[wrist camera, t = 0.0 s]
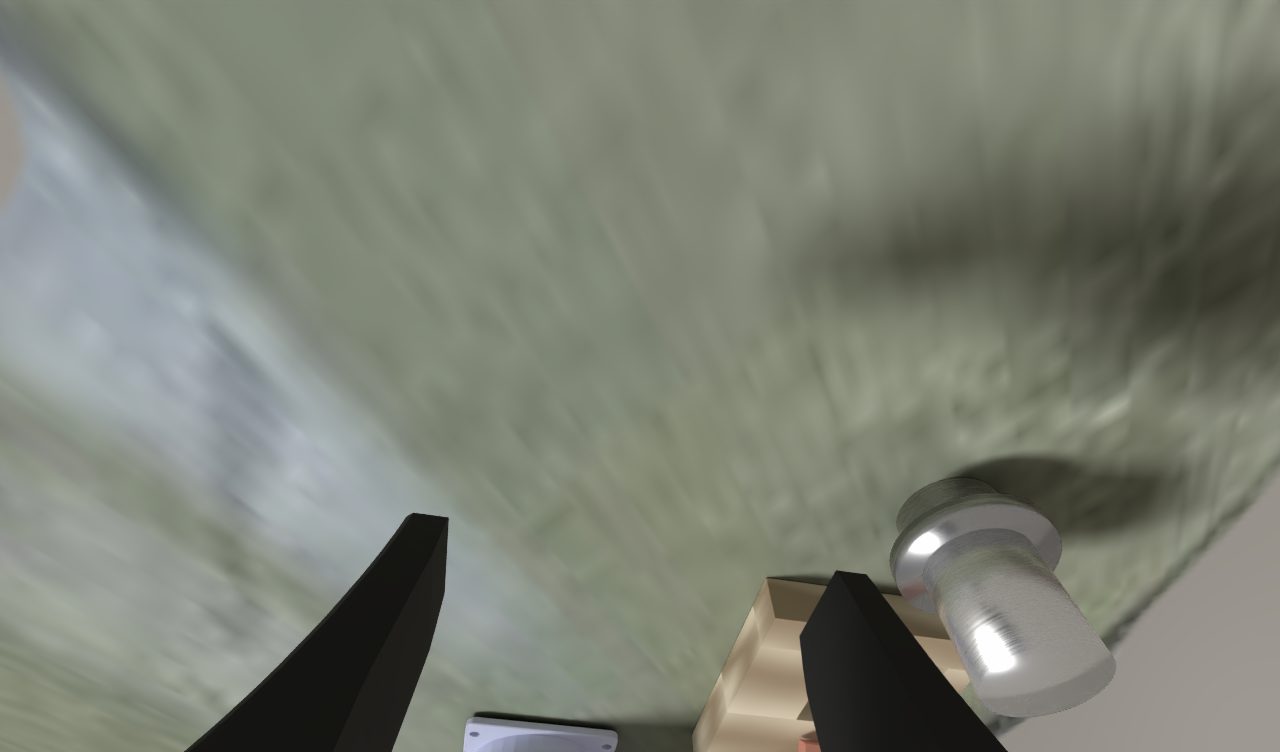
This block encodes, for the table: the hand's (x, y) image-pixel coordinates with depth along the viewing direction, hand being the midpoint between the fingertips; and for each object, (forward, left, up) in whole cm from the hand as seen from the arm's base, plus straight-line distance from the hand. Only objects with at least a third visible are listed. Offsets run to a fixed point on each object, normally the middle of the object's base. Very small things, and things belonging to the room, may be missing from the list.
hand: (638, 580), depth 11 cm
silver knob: (-6, -14, -10) cm, 18 cm away
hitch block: (-17, -13, -10) cm, 24 cm away
